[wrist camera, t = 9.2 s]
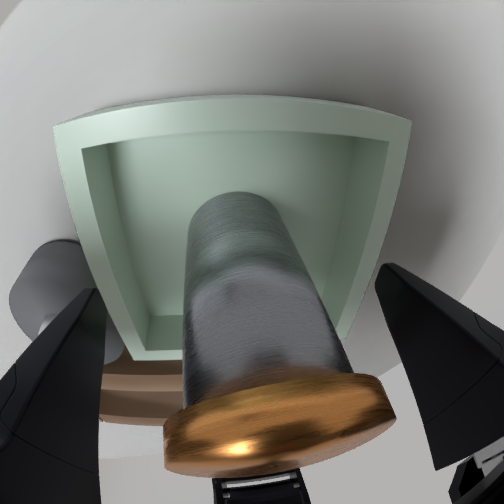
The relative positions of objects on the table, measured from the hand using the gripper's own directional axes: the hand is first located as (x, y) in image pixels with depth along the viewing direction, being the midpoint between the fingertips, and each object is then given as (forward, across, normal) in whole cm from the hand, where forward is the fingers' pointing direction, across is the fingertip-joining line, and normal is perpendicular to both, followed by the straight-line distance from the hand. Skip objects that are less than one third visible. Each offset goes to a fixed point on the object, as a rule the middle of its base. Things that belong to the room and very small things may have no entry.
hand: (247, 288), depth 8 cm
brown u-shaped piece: (+4, +7, +11) cm, 14 cm away
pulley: (+4, +8, +3) cm, 9 cm away
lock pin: (+3, 0, 0) cm, 3 cm away
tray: (+4, 0, 0) cm, 4 cm away
